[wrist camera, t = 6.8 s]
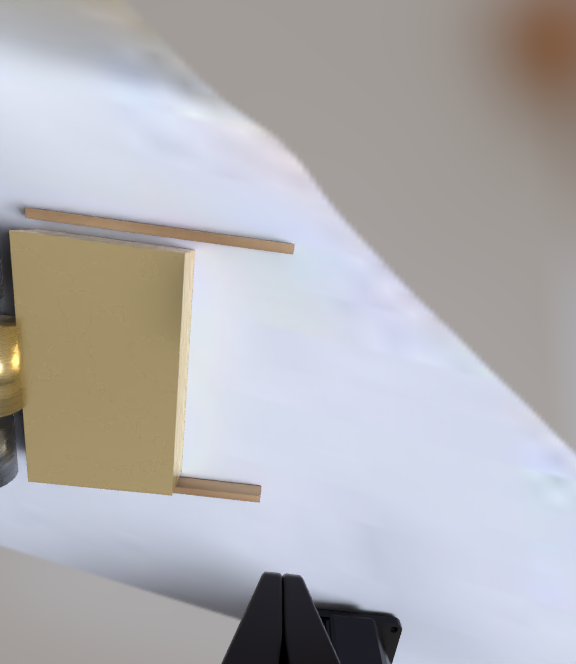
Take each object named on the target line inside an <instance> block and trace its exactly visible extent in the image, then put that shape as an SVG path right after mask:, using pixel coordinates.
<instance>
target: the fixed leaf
mask: <svg viewBox="0 0 576 664" xmlns="http://www.w3.org/2000/svg"><path fill="white" fill-rule="evenodd" d="M3 296H4V292H3V280H2V268H1V256H0V298H2V297H3ZM17 473H18V461H17V449H16V437H15V425H14V416H13V414H11V415H8V416H4V417H0V487H2V486H4V485H6V484H8V483H9V482H10V481H12V480H13V479H14V478H15V477H16V475H17Z"/></svg>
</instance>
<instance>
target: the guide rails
mask: <svg viewBox="0 0 576 664" xmlns="http://www.w3.org/2000/svg"><path fill="white" fill-rule="evenodd" d="M25 215H26V218H31V219H38V220H45V221H53V222H60V223H67V224H75V225H82V226H89V227H97V228H104V229H111V230H118V231H126V232H133V233H140V234H148V235H155V236H162V237H170V238H177V239H184V240H192V241H199V242H206V243H213V244H221V245H228V246H235V247H243V248H250V249H257V250H265V251H272V252H279V253H287V254H293V252H294V244H290V243H283V242H275V241H268V240H261V239H254V238H246V237H239V236H232V235H225V234H217V233H210V232H203V231H196V230H188V229H181V228H174V227H167V226H159V225H152V224H145V223H138V222H130V221H123V220H116V219H109V218H101V217H94V216H87V215H80V214H72V213H65V212H58V211H51V210H43V209H34V208H25ZM173 493H179V494H188V495H196V496H205V497H214V498H223V499H232V500H241V501H250V502H259V503H260V495H261V486H256V485H247V484H238V483H229V482H220V481H211V480H202V479H194V478H185V477H179V479H178V482H177V484H176V487H175V489H174V492H173Z"/></svg>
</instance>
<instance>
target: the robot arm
mask: <svg viewBox="0 0 576 664" xmlns="http://www.w3.org/2000/svg"><path fill="white" fill-rule="evenodd" d="M401 632H402V627H401V623H400V620H399V619H398V618H395V617H387V616H378V615H368V614H358V613H348V612H338V611H328V610H318V609H316V607H315V605H314V602H313V600H312V598H311V596H310V593H309V591H308V589H307V587H306V584H305V582H304V580H303V578H302V577H301V576H300V575H294V574H284V575H283V576H282V575H281V574H280V573H274V572H264V573H263V574H262V576H261V578H260V580H259V582H258V585H257V587H256V589H255V591H254V593H253V596H252V598H251V600H250V602H249V604H248V607H247V609H246V611H245V613H244V615H243V618H242V620H241V622H240V624H239V626H238V628H237V631H236V633H235V635H234V637H233V640H232V642H231V644H230V646H229V648H228V650H227V653H226V655H225V657H224V659H223V661H222V664H392V662H393V658H394V655H395V652H396V648H397V645H398V642H399V638H400V635H401Z"/></svg>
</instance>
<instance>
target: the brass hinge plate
mask: <svg viewBox="0 0 576 664" xmlns="http://www.w3.org/2000/svg"><path fill="white" fill-rule="evenodd" d="M9 237H10V250H11V263H12V276H13V289H14V302H15V315H16V316H7V315H0V417H4V416H8V415H11V414H14V413H16V412H18V411H20V410H21V409H23V419H24V432H25V446H26V459H27V472H28V482H39V483H49V484H59V485H69V486H80V487H90V488H100V489H111V490H121V491H131V492H142V493H152V494H162V495H172V494H173V492H174V489H175V487H176V484H177V482H178V479H179V477H180V474H181V472H182V457H183V440H184V424H185V408H186V391H187V375H188V359H189V342H190V326H191V310H192V293H193V277H194V261H195V250H191V249H183V248H176V247H168V246H161V245H153V244H146V243H139V242H131V241H124V240H116V239H109V238H102V237H94V236H87V235H79V234H72V233H64V232H57V231H50V230H42V229H31V230H9Z"/></svg>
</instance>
